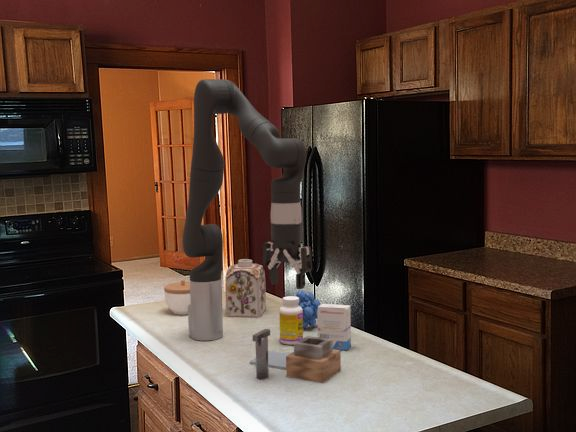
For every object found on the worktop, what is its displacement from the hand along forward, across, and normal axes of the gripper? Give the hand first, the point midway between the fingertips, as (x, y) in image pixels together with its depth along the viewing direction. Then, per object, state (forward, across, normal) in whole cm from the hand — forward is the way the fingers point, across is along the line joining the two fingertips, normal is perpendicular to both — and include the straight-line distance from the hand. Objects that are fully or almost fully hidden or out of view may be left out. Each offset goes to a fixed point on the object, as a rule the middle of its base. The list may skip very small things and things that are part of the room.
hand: (287, 286), depth 162 cm
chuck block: (+22, +6, +3) cm, 22 cm away
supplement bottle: (+22, -16, +18) cm, 32 cm away
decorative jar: (+22, -49, +32) cm, 63 cm away
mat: (+22, -7, +4) cm, 23 cm away
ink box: (+22, -3, +22) cm, 31 cm away
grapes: (+22, -21, +30) cm, 43 cm away
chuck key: (+22, -2, -7) cm, 23 cm away
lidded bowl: (+22, -66, +20) cm, 73 cm away
